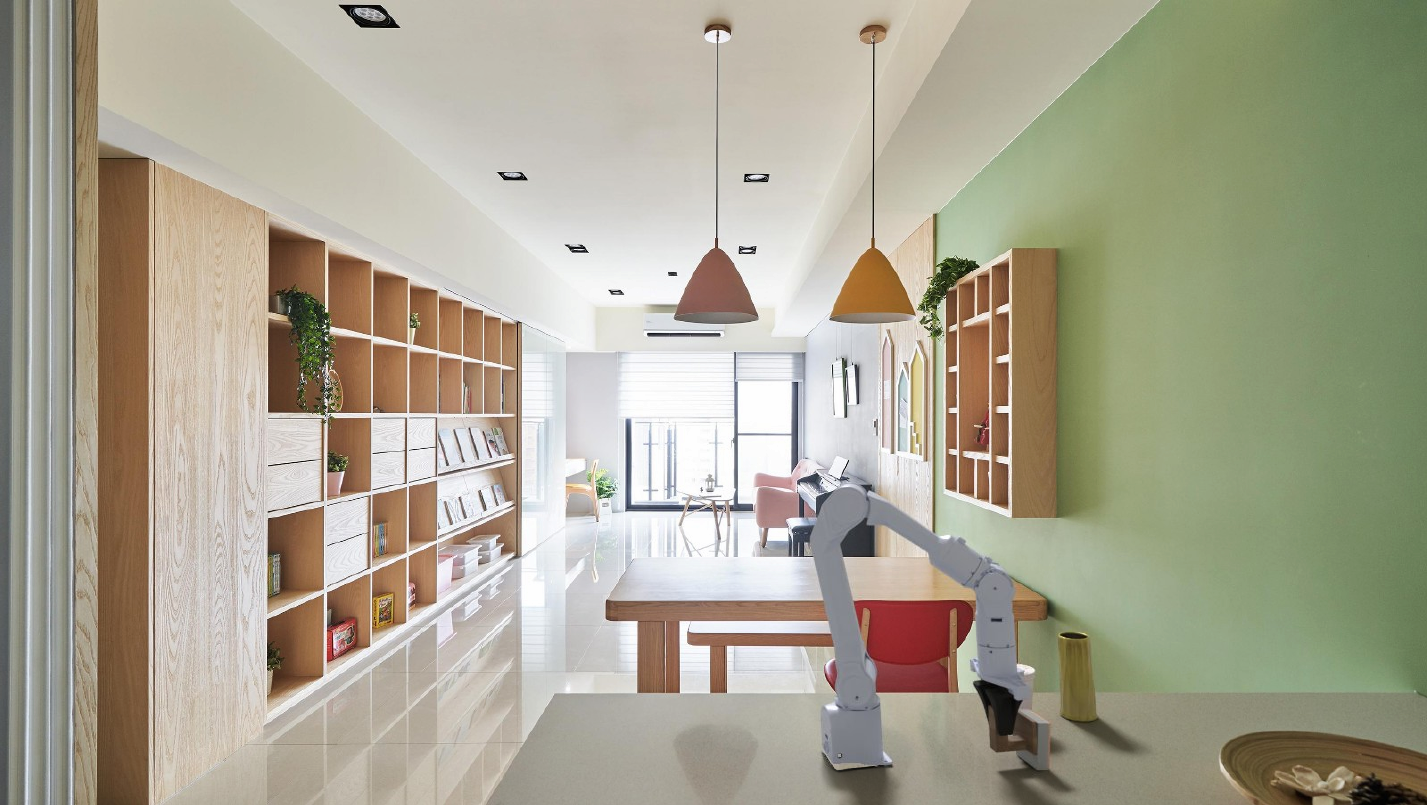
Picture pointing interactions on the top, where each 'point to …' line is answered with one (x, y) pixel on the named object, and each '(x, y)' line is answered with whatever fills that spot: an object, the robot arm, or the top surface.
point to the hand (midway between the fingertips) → (1001, 731)
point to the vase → (1076, 677)
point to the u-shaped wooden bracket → (1014, 735)
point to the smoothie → (1028, 680)
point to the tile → (1038, 743)
